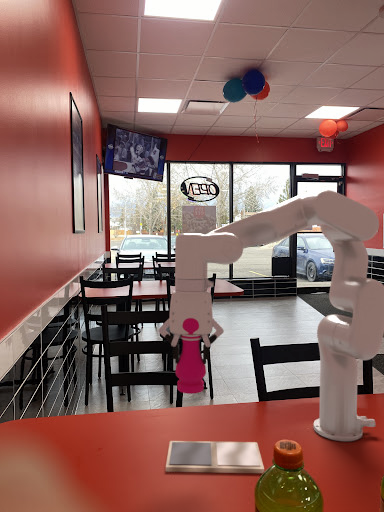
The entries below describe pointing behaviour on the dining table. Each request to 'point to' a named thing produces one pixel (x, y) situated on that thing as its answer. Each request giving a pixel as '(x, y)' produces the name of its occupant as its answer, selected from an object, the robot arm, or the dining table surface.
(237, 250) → the robot arm
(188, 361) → the pepper mill
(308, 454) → the dining table surface
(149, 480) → the dining table surface
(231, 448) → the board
